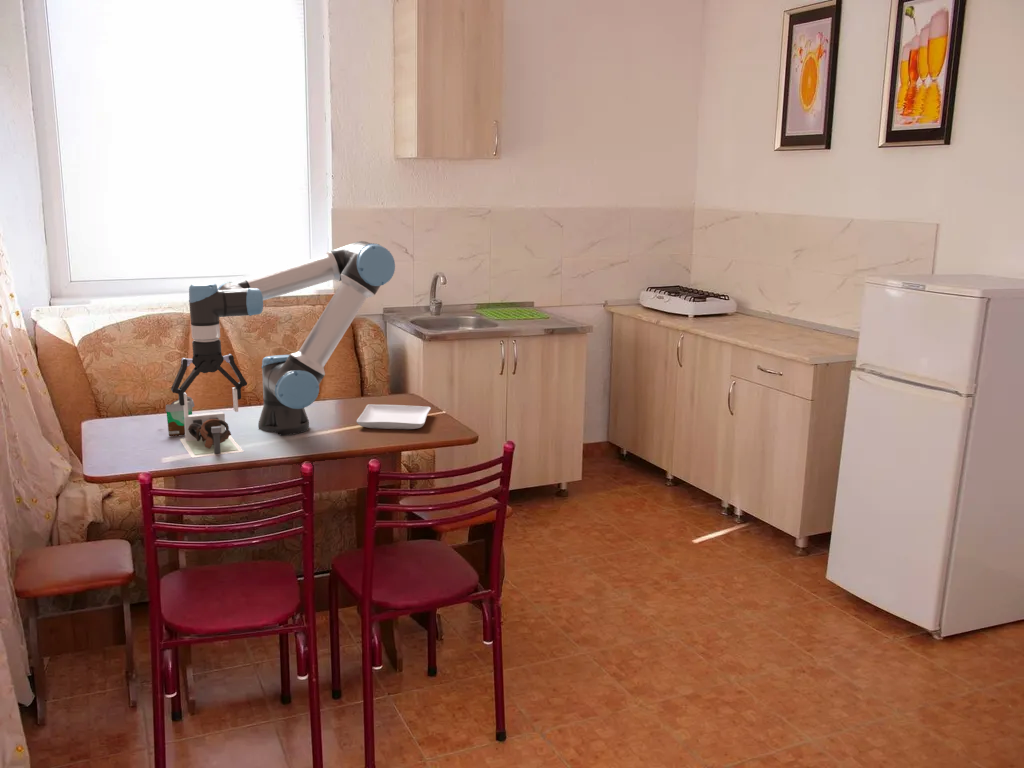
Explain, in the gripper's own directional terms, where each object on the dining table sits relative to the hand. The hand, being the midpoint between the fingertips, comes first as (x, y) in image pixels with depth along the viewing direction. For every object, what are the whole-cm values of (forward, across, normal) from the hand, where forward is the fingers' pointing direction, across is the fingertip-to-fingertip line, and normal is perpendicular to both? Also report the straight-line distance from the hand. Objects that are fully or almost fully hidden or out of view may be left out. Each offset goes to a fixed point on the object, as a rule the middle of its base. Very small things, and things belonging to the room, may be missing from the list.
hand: (211, 413), depth 262 cm
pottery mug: (+10, +1, -1) cm, 10 cm away
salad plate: (+12, -57, -7) cm, 59 cm away
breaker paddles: (+6, +1, -8) cm, 10 cm away
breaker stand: (+10, 0, -1) cm, 11 cm away
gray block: (+10, 0, +8) cm, 12 cm away
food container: (+11, +5, -21) cm, 24 cm away
